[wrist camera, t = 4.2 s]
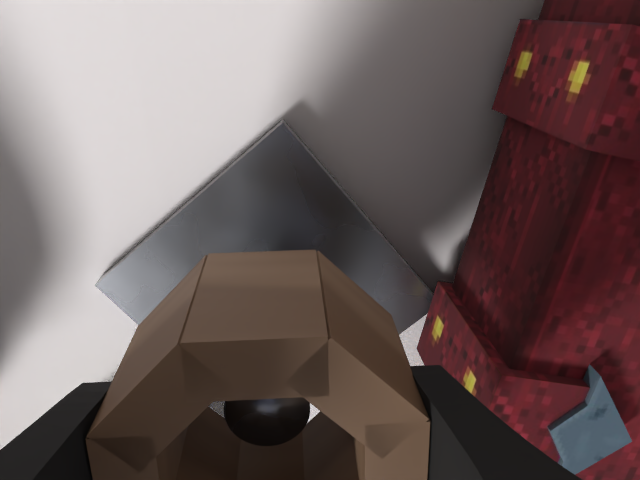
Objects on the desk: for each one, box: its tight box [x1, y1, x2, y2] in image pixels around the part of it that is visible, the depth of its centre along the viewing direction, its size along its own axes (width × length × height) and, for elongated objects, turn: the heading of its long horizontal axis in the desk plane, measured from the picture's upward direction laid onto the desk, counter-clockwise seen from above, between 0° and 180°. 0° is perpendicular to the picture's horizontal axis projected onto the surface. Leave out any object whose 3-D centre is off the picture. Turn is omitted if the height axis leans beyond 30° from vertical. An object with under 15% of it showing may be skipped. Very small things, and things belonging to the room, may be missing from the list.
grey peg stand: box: [95, 119, 434, 446], centre depth 14 cm, size 6×6×6 cm
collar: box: [85, 250, 430, 480], centre depth 11 cm, size 5×5×4 cm
